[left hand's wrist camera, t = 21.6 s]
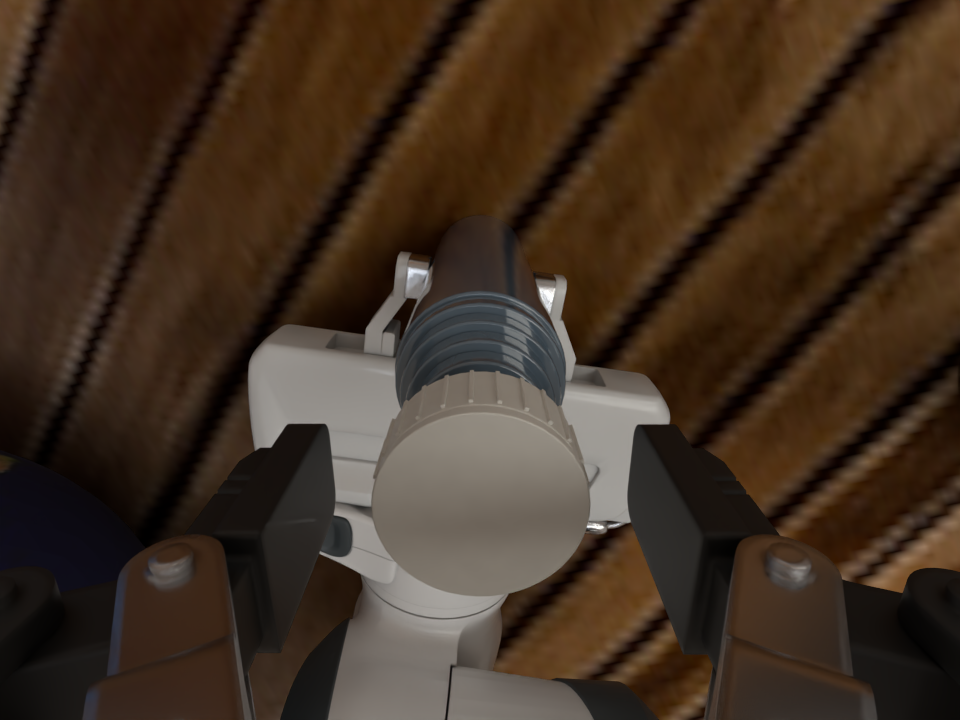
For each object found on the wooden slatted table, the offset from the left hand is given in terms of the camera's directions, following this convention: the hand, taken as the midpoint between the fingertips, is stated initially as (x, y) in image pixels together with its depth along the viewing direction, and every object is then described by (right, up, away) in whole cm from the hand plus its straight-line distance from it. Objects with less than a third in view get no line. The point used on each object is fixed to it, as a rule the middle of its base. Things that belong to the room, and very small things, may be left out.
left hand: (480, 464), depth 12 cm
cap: (0, 0, -1) cm, 1 cm away
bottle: (0, +8, +20) cm, 22 cm away
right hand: (0, +6, +14) cm, 16 cm away
